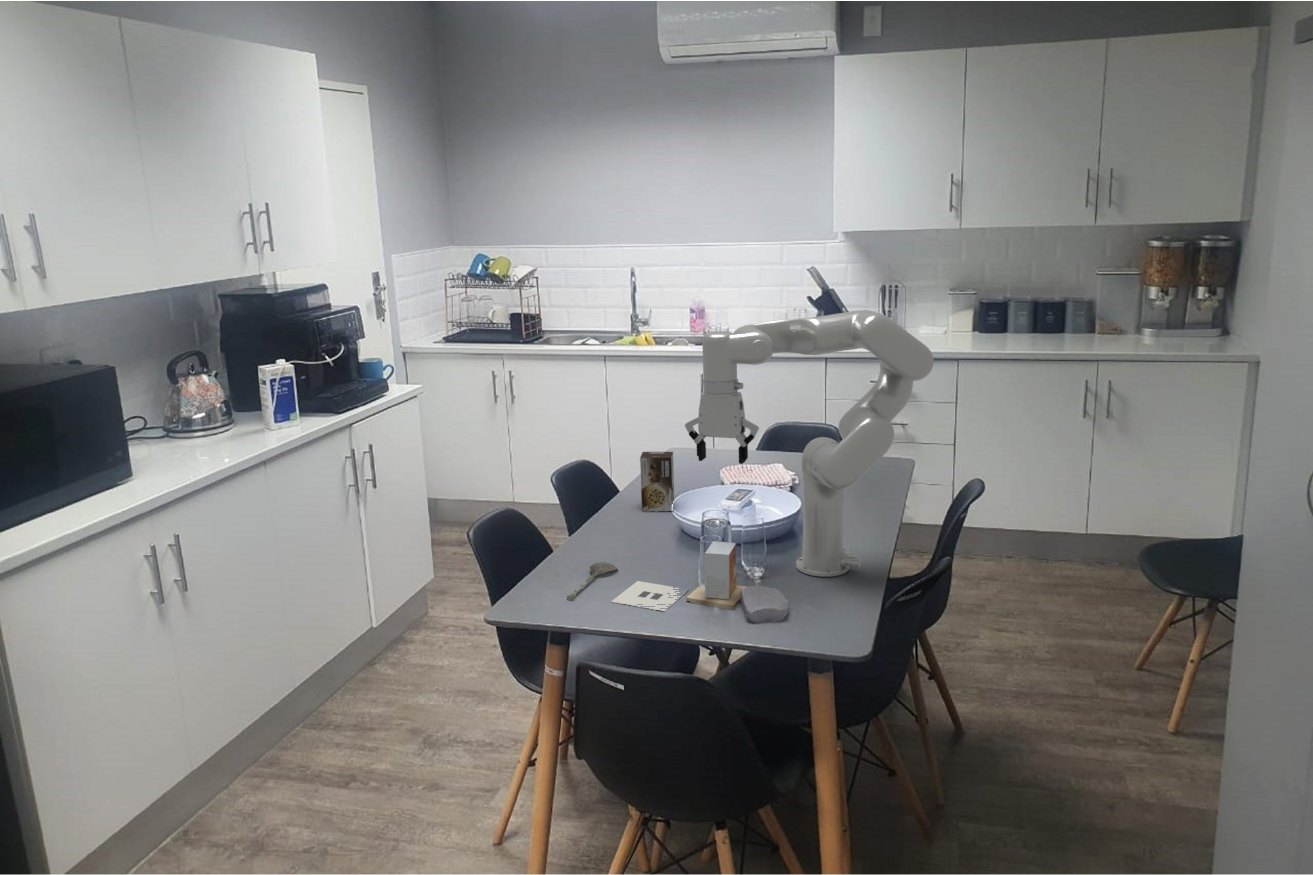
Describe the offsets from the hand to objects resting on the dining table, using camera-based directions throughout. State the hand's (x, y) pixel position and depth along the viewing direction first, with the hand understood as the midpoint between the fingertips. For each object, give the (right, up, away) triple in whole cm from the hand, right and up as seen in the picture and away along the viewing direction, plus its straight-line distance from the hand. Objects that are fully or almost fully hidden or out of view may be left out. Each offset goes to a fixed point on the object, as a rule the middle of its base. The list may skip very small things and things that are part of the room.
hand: (722, 460), depth 224 cm
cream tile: (-16, -30, -5) cm, 35 cm away
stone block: (+8, -32, -13) cm, 36 cm away
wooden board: (-1, -30, -5) cm, 31 cm away
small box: (-1, -29, -6) cm, 30 cm away
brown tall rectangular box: (-15, -15, +57) cm, 61 cm away
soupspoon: (-30, -29, +4) cm, 42 cm away
